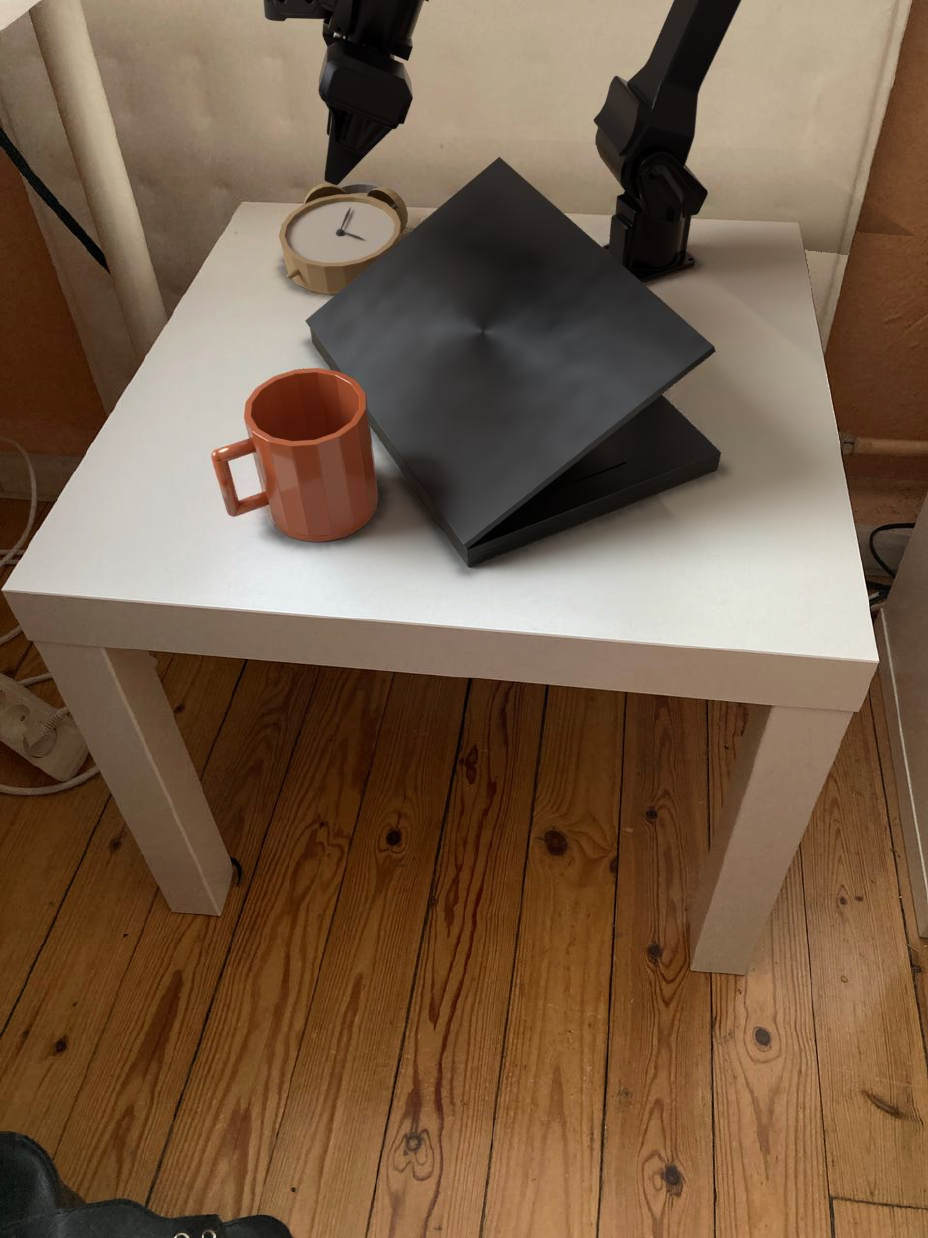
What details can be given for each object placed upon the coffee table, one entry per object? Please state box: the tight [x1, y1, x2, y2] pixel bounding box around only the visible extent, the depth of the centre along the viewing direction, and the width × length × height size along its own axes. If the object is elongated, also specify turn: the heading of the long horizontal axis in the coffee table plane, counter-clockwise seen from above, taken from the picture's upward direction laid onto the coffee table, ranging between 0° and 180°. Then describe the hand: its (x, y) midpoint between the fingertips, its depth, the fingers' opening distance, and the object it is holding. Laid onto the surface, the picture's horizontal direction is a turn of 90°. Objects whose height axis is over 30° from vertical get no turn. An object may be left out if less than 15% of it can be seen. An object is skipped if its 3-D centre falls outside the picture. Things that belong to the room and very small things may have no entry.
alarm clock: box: [278, 182, 409, 296], centre depth 97 cm, size 11×5×15 cm
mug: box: [210, 367, 380, 543], centre depth 72 cm, size 11×8×9 cm
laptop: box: [309, 328, 722, 568], centre depth 82 cm, size 21×30×2 cm
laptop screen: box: [304, 156, 716, 549], centre depth 77 cm, size 21×30×1 cm
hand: (331, 158), depth 81 cm, fingers open, 9 cm apart
